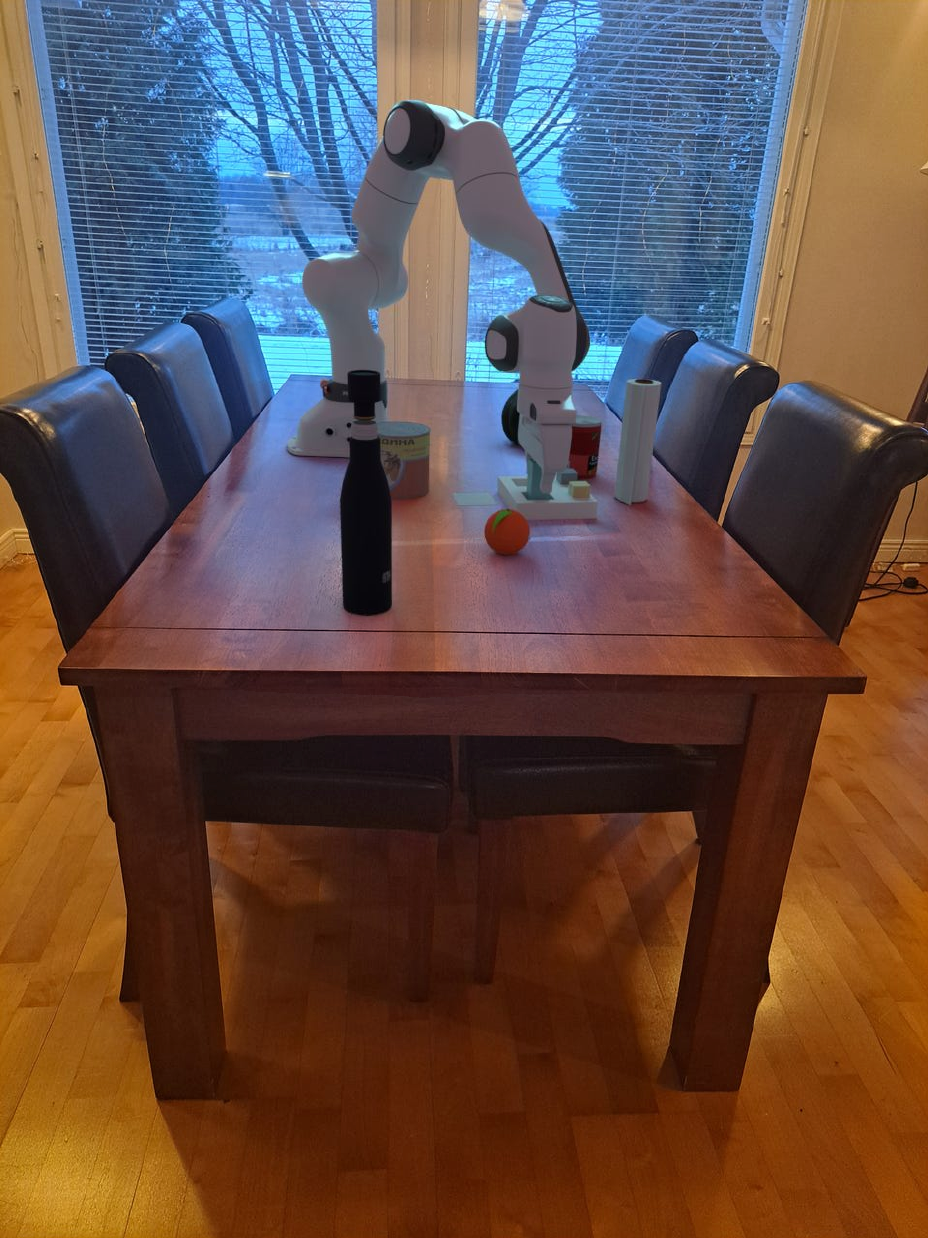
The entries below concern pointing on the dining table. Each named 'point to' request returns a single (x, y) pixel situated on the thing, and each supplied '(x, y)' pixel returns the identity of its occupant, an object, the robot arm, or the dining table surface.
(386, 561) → the insulated water bottle
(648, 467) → the paper towel roll
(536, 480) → the plug
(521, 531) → the clementine
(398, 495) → the canned food
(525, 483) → the block
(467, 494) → the mat
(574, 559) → the dining table surface
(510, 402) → the squash
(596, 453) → the canned food
